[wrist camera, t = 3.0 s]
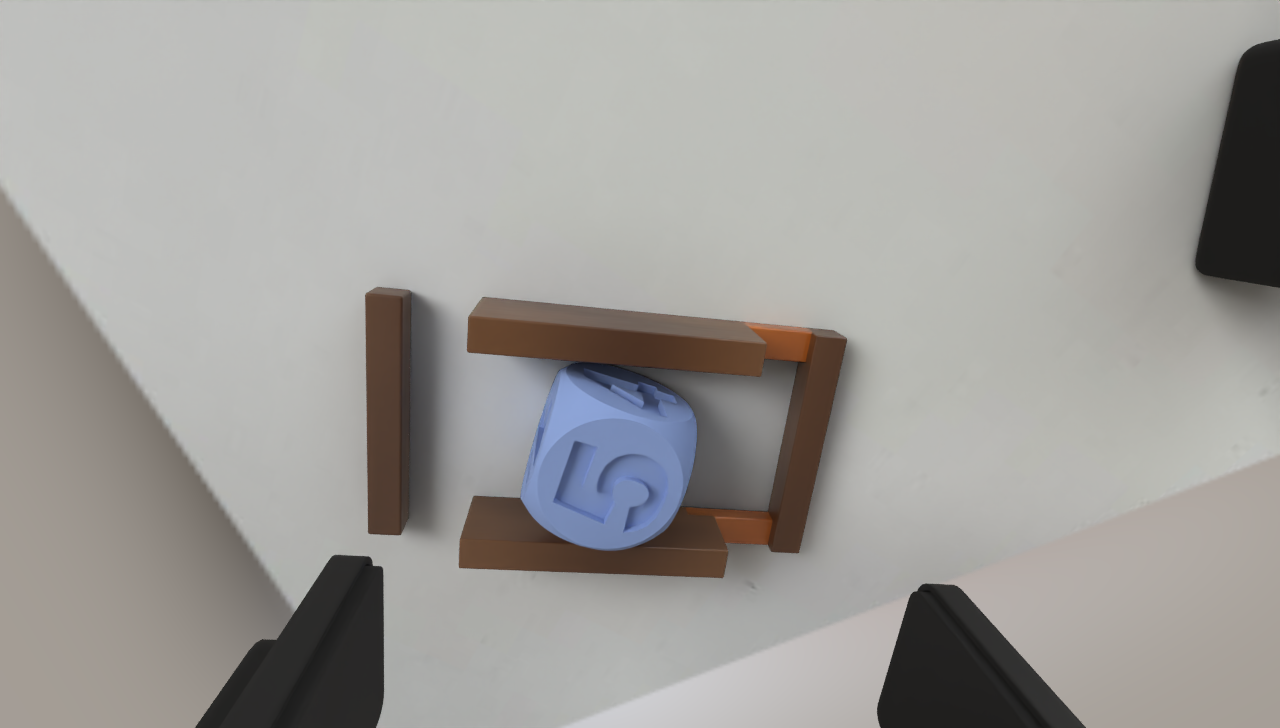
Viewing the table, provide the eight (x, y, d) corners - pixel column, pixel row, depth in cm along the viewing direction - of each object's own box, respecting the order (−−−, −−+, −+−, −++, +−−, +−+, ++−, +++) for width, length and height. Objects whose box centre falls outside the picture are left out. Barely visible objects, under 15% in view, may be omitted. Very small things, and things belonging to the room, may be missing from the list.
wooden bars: (377, 517, 20) (350, 565, 17) (375, 286, 18) (344, 304, 15) (789, 536, 22) (816, 581, 19) (834, 330, 19) (870, 352, 17)
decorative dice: (563, 349, 19) (560, 394, 15) (683, 387, 19) (709, 439, 16) (525, 462, 20) (513, 531, 16) (641, 493, 20) (656, 567, 17)
